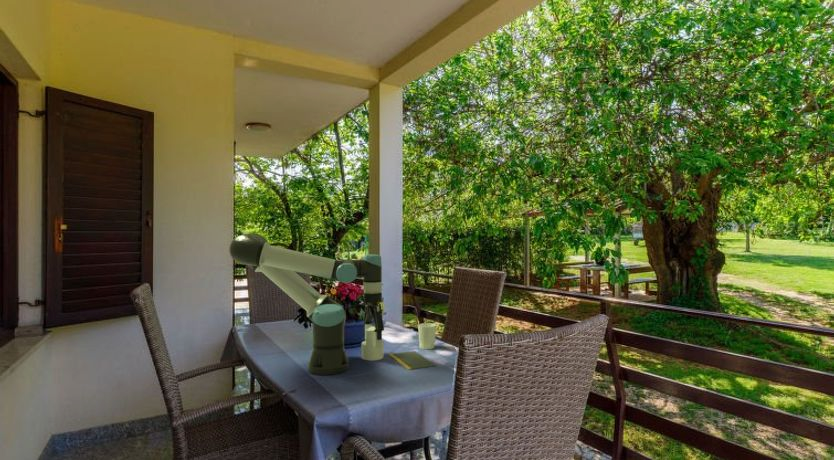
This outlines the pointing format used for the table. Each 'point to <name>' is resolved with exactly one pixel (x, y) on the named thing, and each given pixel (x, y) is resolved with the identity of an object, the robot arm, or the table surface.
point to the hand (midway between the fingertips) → (373, 343)
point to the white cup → (426, 335)
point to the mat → (412, 360)
